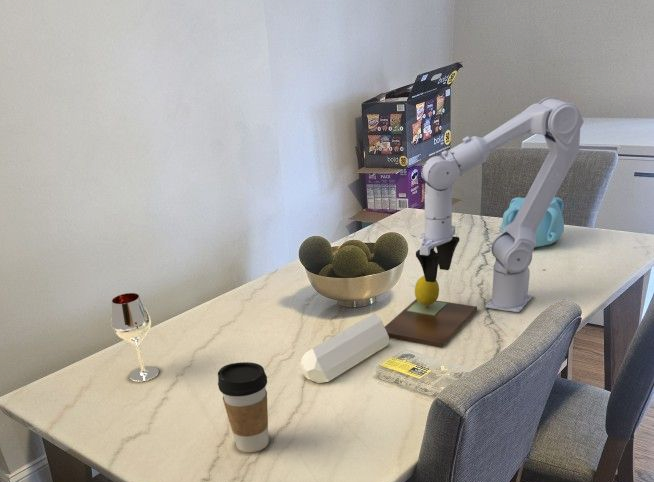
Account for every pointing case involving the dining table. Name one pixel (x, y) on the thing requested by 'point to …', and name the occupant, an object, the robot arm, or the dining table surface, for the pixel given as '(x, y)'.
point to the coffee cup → (246, 404)
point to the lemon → (426, 291)
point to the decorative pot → (549, 225)
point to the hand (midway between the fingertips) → (437, 275)
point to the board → (430, 322)
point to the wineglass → (132, 328)
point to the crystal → (345, 350)
